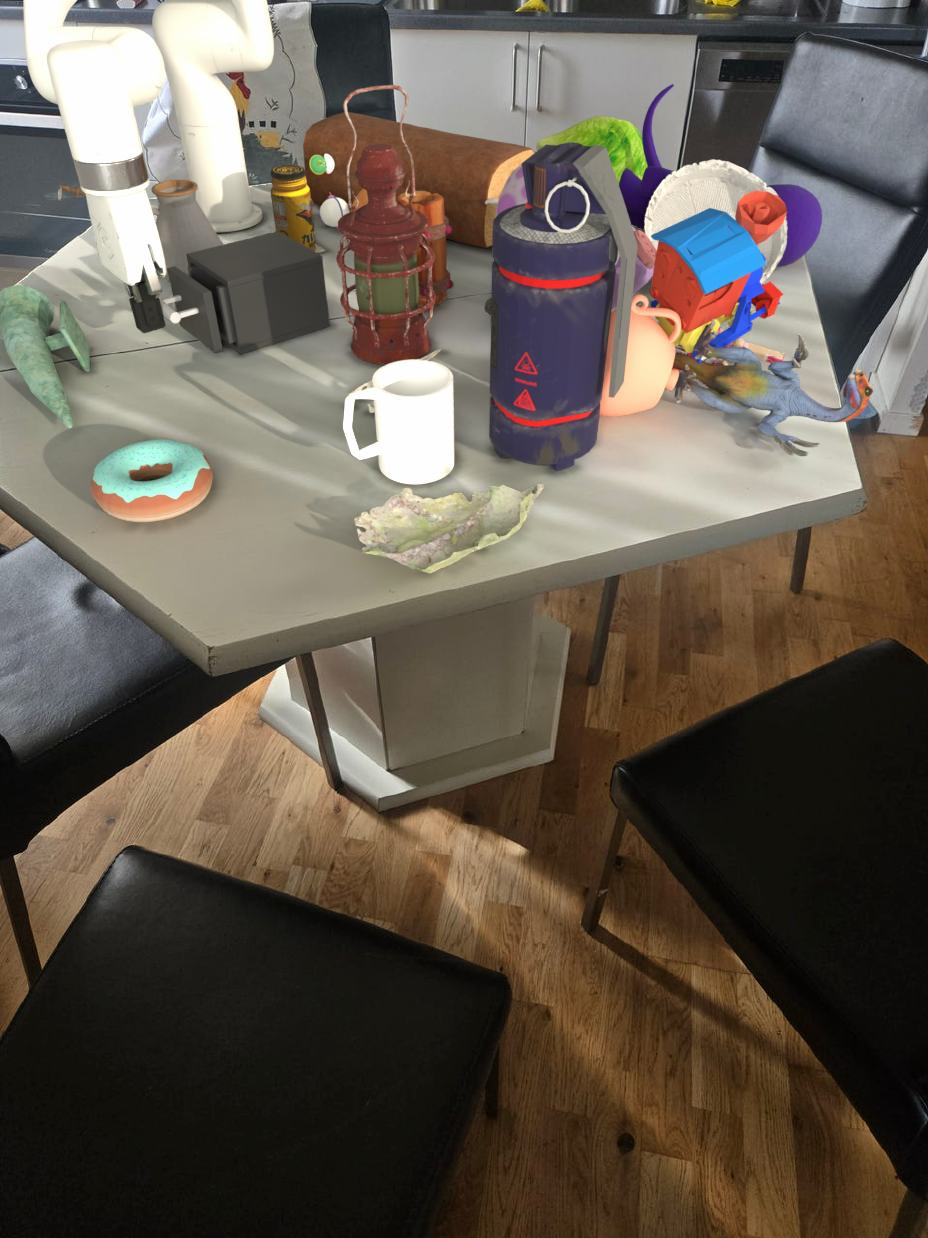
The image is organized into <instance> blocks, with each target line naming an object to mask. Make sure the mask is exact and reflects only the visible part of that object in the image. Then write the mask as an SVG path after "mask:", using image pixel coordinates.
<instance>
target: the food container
mask: <svg viewBox="0 0 928 1238" xmlns="http://www.w3.org/2000/svg"><path fill="white" fill-rule="evenodd" d="M673 171H674V172H672V175H671V174H669V175H668V176H667V177H666V179H664V180H663V181H662V182H661V184H660V185H659V186H658V188H657V189H656V191H655V192H654V194H653V196H652V197H651V200H650V201H649V206H648V208H647V212H646V215H645V226H644V228H645V230H644V233H645V234H646V236H647V237H648V238H649V239H650V241H651V242H652V244H653V245H654V247H655V249H656V250H657V247H658V241H657V240H654V239H653V238H652V237H651V235H653V234H655V233H657V232H659V231H661V230H663V229H666V228H668V227H670V226H672V225H674V224H676V223H679V222H681V221H683V220H685V219H687V218H689V217H691V216H694V215H696V214H698V213H700V212H702V211H704V210H707V209H709V208H712V209H716V210H720V211H724V212H727V213H728V214H729V215H730V216H731V217H732V218H733V219H735V215H736V210H737V204H738V202H739V201H740V199H741V198H742V197H743V196H744V195H745V194H748V193H751V192H754V191H764V192H770V193H772V194H775V195H777V193H776V192H775V191H774V189H772V188H771V187H766V186H767V183H766V182H765V181H763V180H762V179H761V178H760V177H759V176H758V175H756V174H754V173H753V172H750V171H748V170H747V169H746V168H744V167H741V166H739V165H737V164H735V163H732V162H730V161H726V160H721V159H709V160H703V161H700V162H699V163H697V162H694V163H692V164H686V165H683V166H682V167H681V168H679V169H678V170H677V172H676V170H673ZM777 196H778V195H777ZM735 220H736V219H735ZM787 229H788V227H787V221H786V217H785V220H784V223H783V224H782V225H781V227H780V228H779V229H778V230H777V231H776V232H774V233H773V234H772V235H771V236H770V237H769V238H768V239H767V240H765V241H764V242H761V243H759V244H758V245H757V247H758V248H759V250H760V252H761V254H763V255H764V257H765V258H766V260H765V263H766V265H765V266H763V276H762V278H761V280H760V283H761V285H762V284H764V283H766V281H767V280H768V279H769V278H770V277H771V275H772V274H773V272H774V271H775V270H776V268H778V267H777V264H778V263H779V261H780V260H781V258H782V256H783V253H784V251H785V248H786V244H787Z"/></svg>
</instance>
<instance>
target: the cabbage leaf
mask: <svg viewBox="0 0 928 1238" xmlns="http://www.w3.org/2000/svg"><path fill="white" fill-rule="evenodd" d="M544 488H545V485H544V484H543V483H541V482H540V483H537V485H534V486H531V487H528V488H527V489H526V490H523V491H519V490H517V489H515V488H511V487H510V486H506V485H505V484H502V485H499V486H494V485H491V486H489V491H484V492H481V493H479V492H478V491H474V492H473V493H472V494H471V500H468V499H467V497H466V496H465V495H464V493H462V492H454V493H453V492H452V494H448V495H447V496H443V497H438V498H435V499H433V498H431V497H425V498H422V497H421V496H419V495H418V494H414V493H413V490H412V488H410V487H404V488H403V489H402V491H401V492H400V493H397V494H393V495H391V496H390V497H389V499H387V500H386V502H385V503H384V504H383V505H382V506H375V507H372V508H371V509H370V511H369V513H368V511H362V512H361V513H360V516H357V517H355V518H354V524H355V526H356V527H357V528H356V532H357V536H358V539H359V542H361V543H362V544H363V545H365V547H361V552H362V554H367V555H373V556H380V557H383V558H388V559H390V560H392V561H395V562H397V563H398V564H401V565H403V566H405V567H408V568H410V569H411V570H413V571H418V572H421V571H422V572H423V573H426V574H433V573H435V572H436V571H438V570H441V569H443V568H446V567H448V566H452V565H453V564H455V563H456V562H458V561H460V560H461V559H463V558H465V557H466V556H467V555H469V554H472V553H474V552H476V551H479V550H482V549H483V548H487V547H488V546H492V545H494V544H496V543H497V544H498V543H500V542H502V541H504V540H505V541H506V540H507V539H508V538H510V537H511V536H512V535H515V534H516V533H517V532H518V531H519V530H520V529H521V528H522V525H523V523H524V522H525V521H526V519H527V517H528V515H529V514H530V513H531V511H532V510H531V509H532V508H533V504H534V502H535V500H537V497H539V495H540V494H541V492H542V491H543V490H544ZM358 527H361V528H364V529H365V531H361V530H360V528H358Z"/></svg>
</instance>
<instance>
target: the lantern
mask: <svg viewBox="0 0 928 1238" xmlns="http://www.w3.org/2000/svg"><path fill="white" fill-rule="evenodd" d="M380 90H381V91H383V90H395V91H400V92H401V93H402V95H403V97H404V107H403V111H402V114H401V118H400V121H399V122H400V136H401V140H402V142H403V144H404V146H405V149H406V151H407V153H408V155H409V157H410V163H411V182H412V193H413V195H412V196H411V195H410V197H409V196H408V195H407V190H408V188H409V186H410V180H409V182H408V186H407V188H406V190H405V192H404V193H405V195H406V197H407V199H409V205H410V208H411V209H410V208H407V207H406V206H403V205H400V204H398V203H397V202H396V200H395V198H396V190H397V188H399V187H400V186H401V185H402V183H403V178H404V177H405V174H406V172H405V170H404V169H403V164H402V160H401V159H400V158H399V157H398V156H397V152H396V150H395V149H394V148H393V147H392V146H391V145H388V144H370V145H367V146H366V147H365V148H364V149H363V150H362V155H361V158H360V159H359V160H358V162H357V171H356V172H355V176H356V178H357V179H358V183H359V185H360V186H361V187H362V188H363V189H365V190H366V191H367V196H368V200H369V201H368V203H367V205H364V206H362V207H360V208H359V209H357V210H354V209H356V208H357V206H358V204H359V203H358V198H357V197H356V196H355V195H354V192H353V190H352V193H353V196H354V198H355V200H356V202H357V203H356V205H355V206H354V207H353V206H352V205H351V192H350V176H349V174H350V164H351V160H352V157H353V154H354V151H355V147H356V140H357V136H356V131H355V128H354V126H353V124H352V121H351V119H350V117H349V114H348V112H349V111H348V104H349V102H350V100H351V99H352V97H353V96H354V97H355V96H356V95H359V94H361V93H366V92H367V93H368V92H372V91H380ZM408 104H409V94H408V92H407V91H406V90H405V89H404V88H402V87H401V86H400V85H395V84H385V85H374V86H367V87H364V88H357V89H355V90H354V91H351V92H350V93H348V95H347V97H345V99H344V101H343V104H342V106H343V112H345V114H346V116H347V119H348V121H349V123H350V125H351V127H352V129H353V133H354V146H353V149H352V152H351V155H350V158H349V161H348V163H347V171H346V179H347V191H348V207H349V208H351V209H352V212H350V213H347V214H345V215H344V216H342V217H341V218H340V219H339V221H338V228H339V230H338V231H340V232H339V233H341V234H342V235H343V236H342V237H341V239H340V241H339V250H338V251H337V254H336V257H335V261H336V265H337V266H338V267H339V269H340V273H341V274H340V275H341V285H342V293H341V295H340V297H339V301H340V305H341V307H342V308H343V311H344V316H345V319H346V322H347V323H348V324H349V325H350V326H351V327H352V336H351V343H350V351H351V352H352V354H353V355H354V356H355V357H357V358H358V359H360V360H362V361H365V362H367V363H370V364H374V365H387V364H389V363H393V362H396V361H401V360H411V359H420V358H423V357H425V356H426V355H428V352H429V351H430V349H431V347H432V342H431V338H430V335H429V331H428V328H427V325H428V322H430V320H431V319H432V317H433V313H434V304H435V299H436V295H435V292H434V291H433V288H432V264H433V263H434V258H435V255H434V252H433V251H432V248H430V247H429V239H428V237H427V236H426V234H424V233H423V232H424V231H425V230H426V229H428V224H429V219H428V218H427V217H426V216H425V214H423V213H421V212H419V211H416V210H414V209H413V206H412V204H411V202H412V199H413V198H414V196H415V177H414V162H413V158H412V154H411V152H410V150H409V148H408V146H407V144H406V142H405V140H404V138H403V133H402V123H404V119H405V115H406V113H407V109H408ZM422 235H423V237H424V238H425V242H424V243H423V242H422V238H423V237H422ZM345 240H346V245H345V246H344V242H345ZM419 247H420V248H422V249H423V250H425V255H426V263H425V264H423V265H421V266H419V267H418V264H417V252H416V250H417V249H418V248H419ZM349 251H351V252H352V253H353V267H350V266H347V264H346V261H345V258H346V257H345V256H346V254H347V252H349ZM425 269H426V284H424V283H422V282H419V280H418V272H420V271H422V270H425ZM347 273H348V274H351V275H354V284H353V285H350V286H349V287H348V283H347ZM419 286H420V287H422V288H423V289H425V290H426V304H425V305H424V306H423V307H421V308H418V299H419ZM354 290H355V295H356V296H355V297H356V303H357V306H358V309H356V308H353V307H351V306H350V301H349V298H350V297H349V295H350V293H351V292H353V291H354ZM426 311H429V312H428V317H427V319H425V316H424V313H425V312H426ZM350 314H351V315H352V316H353V321H352V319H351V318H350Z"/></svg>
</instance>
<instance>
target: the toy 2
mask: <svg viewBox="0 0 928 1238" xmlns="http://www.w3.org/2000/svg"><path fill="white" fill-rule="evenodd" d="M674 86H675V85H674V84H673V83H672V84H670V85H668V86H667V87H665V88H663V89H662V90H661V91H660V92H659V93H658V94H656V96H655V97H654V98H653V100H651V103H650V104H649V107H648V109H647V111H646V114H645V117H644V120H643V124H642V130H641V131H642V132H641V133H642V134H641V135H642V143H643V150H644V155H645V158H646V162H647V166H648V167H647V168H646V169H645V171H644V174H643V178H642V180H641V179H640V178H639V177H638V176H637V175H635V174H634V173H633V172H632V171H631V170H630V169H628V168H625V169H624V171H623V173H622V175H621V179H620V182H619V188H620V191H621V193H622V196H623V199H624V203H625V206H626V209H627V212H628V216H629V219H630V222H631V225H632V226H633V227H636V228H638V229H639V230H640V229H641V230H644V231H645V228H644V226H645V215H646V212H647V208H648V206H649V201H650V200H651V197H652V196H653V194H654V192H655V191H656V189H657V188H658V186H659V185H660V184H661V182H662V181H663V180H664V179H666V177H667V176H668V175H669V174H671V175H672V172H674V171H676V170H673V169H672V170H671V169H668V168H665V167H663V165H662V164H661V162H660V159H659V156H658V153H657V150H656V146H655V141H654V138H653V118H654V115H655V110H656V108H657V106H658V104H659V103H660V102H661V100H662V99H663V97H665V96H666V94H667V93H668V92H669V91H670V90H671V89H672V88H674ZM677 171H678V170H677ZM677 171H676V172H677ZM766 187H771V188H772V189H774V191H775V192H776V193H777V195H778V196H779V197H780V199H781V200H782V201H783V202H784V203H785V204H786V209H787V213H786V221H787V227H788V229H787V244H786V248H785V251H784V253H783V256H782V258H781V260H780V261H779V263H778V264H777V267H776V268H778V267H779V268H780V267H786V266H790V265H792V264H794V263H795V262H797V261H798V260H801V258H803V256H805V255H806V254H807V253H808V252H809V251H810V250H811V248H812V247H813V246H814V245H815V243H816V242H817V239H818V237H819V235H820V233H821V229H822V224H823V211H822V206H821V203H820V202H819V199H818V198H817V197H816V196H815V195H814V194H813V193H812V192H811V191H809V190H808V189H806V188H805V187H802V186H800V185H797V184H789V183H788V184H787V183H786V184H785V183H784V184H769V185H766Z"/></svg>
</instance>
